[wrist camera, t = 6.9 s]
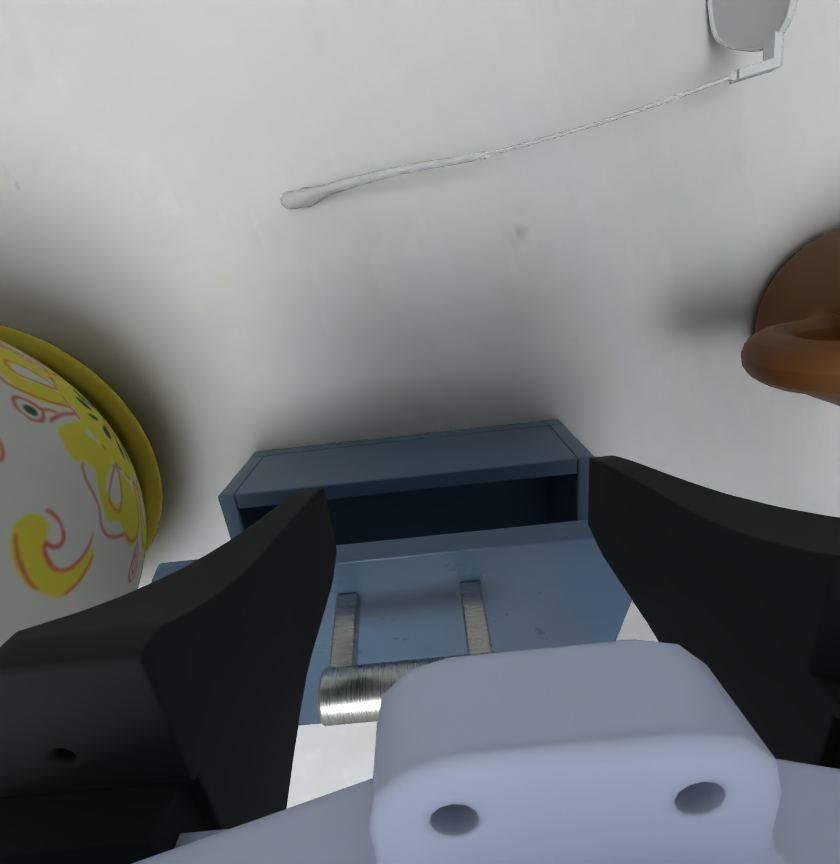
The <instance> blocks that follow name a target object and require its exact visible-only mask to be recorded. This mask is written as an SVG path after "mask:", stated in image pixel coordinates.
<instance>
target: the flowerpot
mask: <svg viewBox="0 0 840 864" xmlns="http://www.w3.org/2000/svg"><path fill="white" fill-rule="evenodd" d="M162 503H163V492H162V481H161V476H160V471H159V467H158V463H157V460H156V457H155V454H154V452H153V449H152V447H151V445H150V442H149V440H148V438H147V436H146V434H145V432H144V431H143V429H142V427H141V425H140V424H139V422H138V421H137V419H136V418H135V416H134V415H133V413H132V412H131V411H130V409H129V408H128V407H127V405H126V404H125V403H124V402H123V401H122V399H121V398H120V397H119V396H118V395H117V394H116V393H115V392H114V391H113V390H112V389H111V387H110V386H108V385H107V384H106V383H105V382H104V381H103V380H102V379H101V378H100V377H99V376H98V375H96V374H95V373H94V372H93V371H91V370H90V369H89V368H88V367H86V366H85V365H84V364H82V363H81V362H79V361H78V360H77V359H75V358H74V357H72V356H70V355H69V354H67V353H66V352H64V351H62V350H61V349H59V348H57V347H55V346H53V345H52V344H50V343H47V342H45V341H43V340H41V339H39V338H37V337H34V336H32V335H29V334H27V333H24V332H21V331H18V330H15V329H12V328H9V327H5V326H1V325H0V647H1V646H2V645H3V644H4V643H5V642H6V641H7V640H8V639H9V638H10V637H11V636H12V635H13V634H14V633H16V632H17V631H20V630H23V629H27V628H30V627H33V626H36V625H40V624H43V623H46V622H49V621H52V620H55V619H58V618H61V617H64V616H67V615H71V614H74V613H77V612H80V611H83V610H86V609H88V608H91V607H94V606H97V605H99V604H102V603H105V602H107V601H110V600H112V599H115V598H118V597H120V596H123V595H125V594H127V593H130V592H132V591H135V590H137V589H138V585H139V582H140V578H141V574H142V569H143V563H144V557H145V552H146V550H147V549H148V547H149V546H150V544H151V542H152V540H153V539H154V536H155V534H156V532H157V529H158V525H159V522H160V518H161V512H162Z"/></svg>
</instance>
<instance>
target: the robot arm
mask: <svg viewBox="0 0 840 864" xmlns="http://www.w3.org/2000/svg"><path fill="white" fill-rule="evenodd" d="M588 526H589V528H590V530H591V532H592V534H593V537H594V539H595V541H596V543H597V545H598V547H599V549H600V551H601V553H602V555H603V557H604V558H605V560H606V561H607V563H608V564H609V566H610V567H611V569H612V571H613V572H614V574H615V575H616V577H617V578H618V580H619V581H620V583H621V584H622V586H623V587H624V589H625V590H626V592H627V593H628V595H629V596H630V597H631V599H632V600H633V602H634V603H635V605H636V606H637V608H638V609H639V611H640V612H641V614H642V615H643V617H644V618H645V620H646V621H647V623H648V625H649V626H650V628H651V629H652V631H653V633H654V634H655V636H656V638H657V639H658V641H659V642H653V641H643V640H622V641H612V642H601V643H591V644H581V645H571V646H560V647H550V648H540V649H530V650H520V651H509V652H499V653H489V654H479V655H469V656H458V657H449V658H445V659H442V660H439V661H436V662H433V663H429V664H426V665H423V666H420V667H416V668H413V669H411V670H408V671H407V672H406V673H405V674H404V675H403V676H402V677H401V678H400V679H399V680H398V681H397V682H396V683H395V684H394V685H393V686H392V687H391V688H389V689H388V690H387V691H386V692H385V693H384V694H383V695H382V698H381V704H380V711H379V717H378V723H377V732H376V745H375V758H374V771H373V779H370V780H367V781H364V782H361V783H359V784H356V785H353V786H350V787H347V788H344V789H342V790H339V791H336V792H333V793H330V794H327V795H325V796H322V797H319V798H316V799H313V800H310V801H308V802H305V803H302V804H299V805H296V806H293V807H291V808H288V809H286V807H287V800H288V793H289V785H290V778H291V771H292V763H293V756H294V750H295V743H296V737H297V730H298V724H299V718H300V711H301V706H302V700H303V695H304V689H305V683H306V678H307V672H308V668H309V664H310V660H311V656H312V652H313V649H314V645H315V642H316V639H317V635H318V632H319V628H320V625H321V621H322V618H323V615H324V611H325V608H326V604H327V601H328V597H329V594H330V590H331V586H332V583H333V577H334V570H335V562H336V554H337V548H336V543H335V539H334V534H333V529H332V524H331V520H330V515H329V510H328V506H327V501H326V496H325V491H324V487H318V488H309V489H301V490H299V491H298V492H296V493H294V494H293V495H292V496H290V497H289V498H287V499H286V500H285V501H283V502H282V503H281V504H279V505H278V506H277V507H275V508H274V509H273V510H272V511H270V512H269V513H268V514H266V515H265V516H264V517H262V518H261V519H260V520H258V521H257V522H256V523H254V524H253V525H251V526H250V527H248V528H247V529H246V530H244V531H243V532H241V533H240V534H238V535H237V536H235V537H234V538H233V539H231V540H230V541H228V542H227V543H225V544H224V545H222V546H220V547H219V548H217V549H216V550H214V551H212V552H211V553H209V554H207V555H205V556H204V557H202V558H200V559H198V560H197V561H195V562H193V563H191V564H189V565H188V566H186V567H184V568H182V569H180V570H178V571H175V572H173V573H171V574H169V575H167V576H165V577H163V578H161V579H159V580H157V581H155V582H153V583H150V584H148V585H146V586H144V587H142V588H139V589H137V590H135V591H132V592H130V593H127V594H125V595H123V596H120V597H118V598H115V599H112V600H110V601H107V602H105V603H102V604H99V605H97V606H94V607H91V608H88V609H86V610H83V611H80V612H77V613H74V614H71V615H67V616H64V617H61V618H58V619H55V620H52V621H49V622H46V623H43V624H40V625H36V626H33V627H30V628H27V629H23V630H20V631H17V632H16V633H14V634H13V635H12V636H11V637H10V638H9V639H8V640H7V641H6V642H5V643H4V644H3V645H2V646H1V647H0V864H840V518H838V517H831V516H825V515H820V514H814V513H808V512H803V511H797V510H792V509H787V508H782V507H777V506H772V505H768V504H764V503H760V502H756V501H752V500H748V499H744V498H740V497H736V496H732V495H729V494H725V493H722V492H719V491H716V490H712V489H709V488H706V487H703V486H700V485H697V484H694V483H691V482H688V481H685V480H682V479H679V478H677V477H674V476H671V475H668V474H666V473H663V472H660V471H658V470H655V469H652V468H650V467H647V466H644V465H642V464H639V463H636V462H633V461H630V460H627V459H624V458H621V457H617V456H603V457H594V458H589V492H588Z"/></svg>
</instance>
